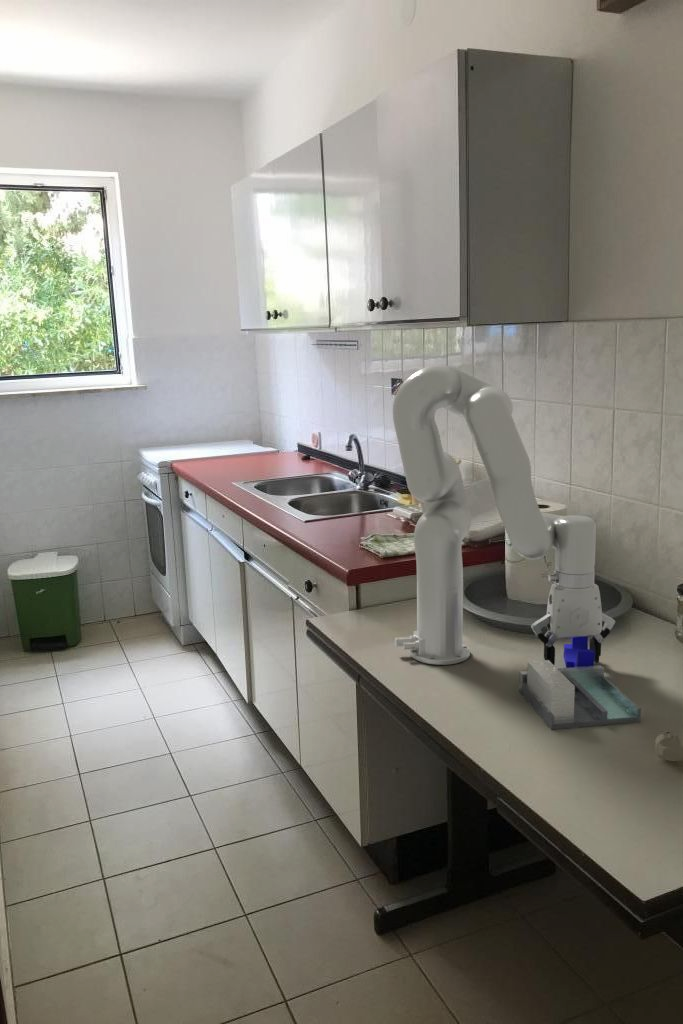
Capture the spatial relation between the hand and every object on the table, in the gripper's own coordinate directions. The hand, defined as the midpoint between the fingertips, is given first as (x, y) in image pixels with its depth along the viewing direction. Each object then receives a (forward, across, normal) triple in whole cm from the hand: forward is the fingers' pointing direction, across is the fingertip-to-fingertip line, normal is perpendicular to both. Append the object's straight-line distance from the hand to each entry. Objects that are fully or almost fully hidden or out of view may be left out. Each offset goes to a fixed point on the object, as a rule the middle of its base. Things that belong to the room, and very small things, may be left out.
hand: (572, 661), depth 168 cm
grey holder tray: (+1, -6, -17) cm, 18 cm away
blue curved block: (+2, +1, 0) cm, 2 cm away
